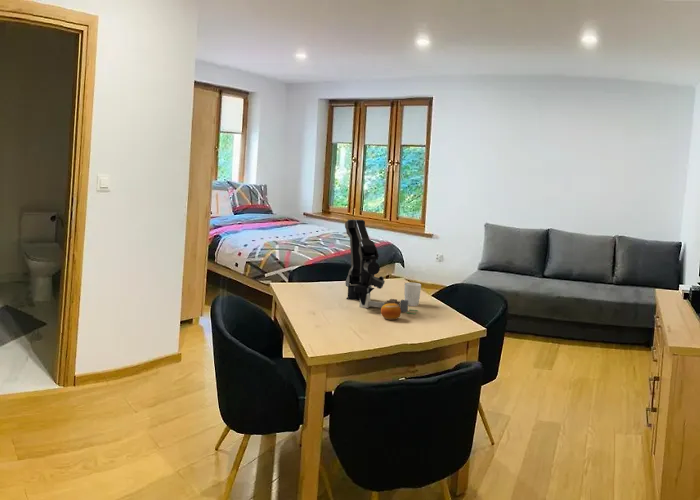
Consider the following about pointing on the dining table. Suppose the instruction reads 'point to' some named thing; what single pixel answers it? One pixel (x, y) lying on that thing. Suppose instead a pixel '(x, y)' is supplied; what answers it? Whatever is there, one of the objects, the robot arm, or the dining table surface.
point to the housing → (397, 304)
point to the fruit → (391, 311)
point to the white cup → (412, 293)
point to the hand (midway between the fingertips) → (364, 304)
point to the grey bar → (371, 303)
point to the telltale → (404, 305)
